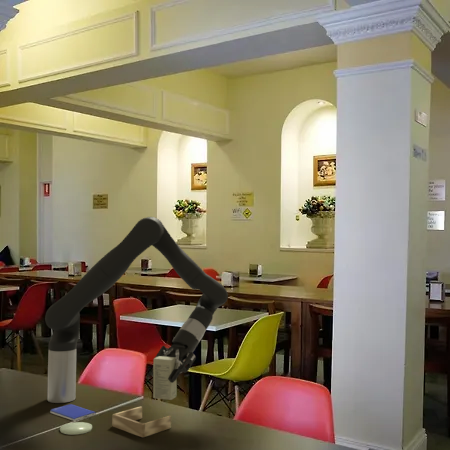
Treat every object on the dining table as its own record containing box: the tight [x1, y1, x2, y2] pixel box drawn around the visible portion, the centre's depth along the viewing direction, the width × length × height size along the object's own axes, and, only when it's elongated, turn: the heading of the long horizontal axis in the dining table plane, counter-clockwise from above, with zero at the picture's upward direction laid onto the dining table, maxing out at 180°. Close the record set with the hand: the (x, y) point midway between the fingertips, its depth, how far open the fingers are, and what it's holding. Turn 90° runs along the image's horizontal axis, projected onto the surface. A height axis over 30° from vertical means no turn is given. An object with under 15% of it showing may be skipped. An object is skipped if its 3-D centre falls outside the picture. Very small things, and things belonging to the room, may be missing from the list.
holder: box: [111, 405, 172, 438], centre depth 165 cm, size 11×14×4 cm
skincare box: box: [152, 356, 178, 401], centre depth 172 cm, size 6×4×12 cm
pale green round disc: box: [59, 421, 93, 436], centre depth 162 cm, size 9×9×1 cm
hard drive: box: [49, 403, 97, 422], centre depth 176 cm, size 2×8×12 cm
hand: (161, 378), depth 171 cm, fingers closed on skincare box, 7 cm apart
